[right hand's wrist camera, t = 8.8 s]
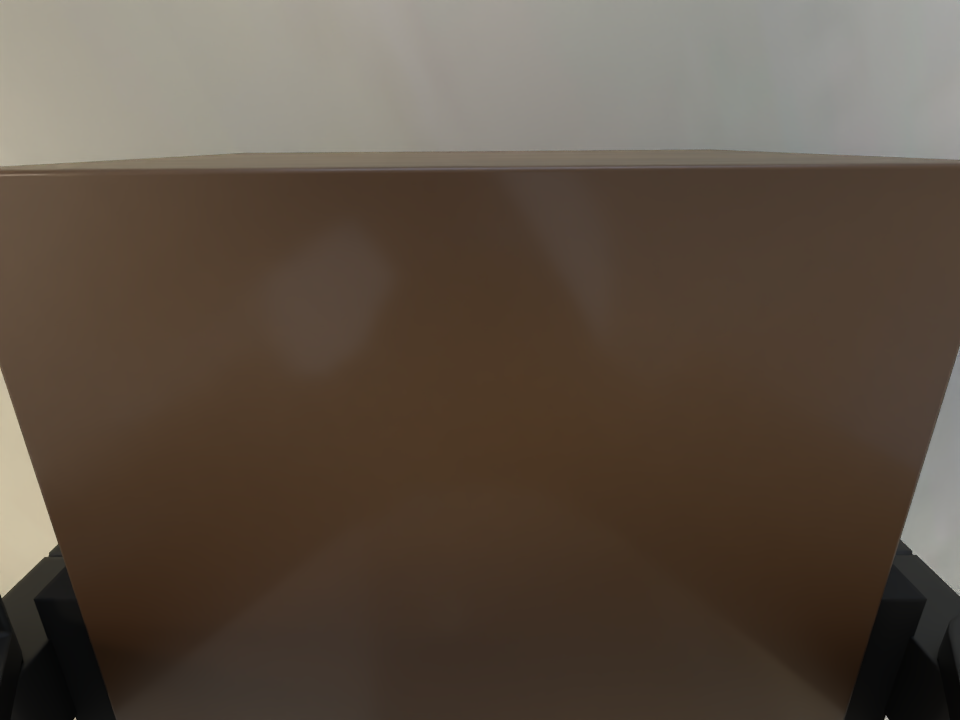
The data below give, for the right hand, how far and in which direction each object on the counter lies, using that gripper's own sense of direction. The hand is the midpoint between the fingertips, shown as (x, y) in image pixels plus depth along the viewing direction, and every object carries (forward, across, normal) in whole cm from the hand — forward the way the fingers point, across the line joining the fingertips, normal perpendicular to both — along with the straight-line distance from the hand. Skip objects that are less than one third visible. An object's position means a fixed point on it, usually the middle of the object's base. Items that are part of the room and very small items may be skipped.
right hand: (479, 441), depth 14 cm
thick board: (+1, 0, -27) cm, 27 cm away
